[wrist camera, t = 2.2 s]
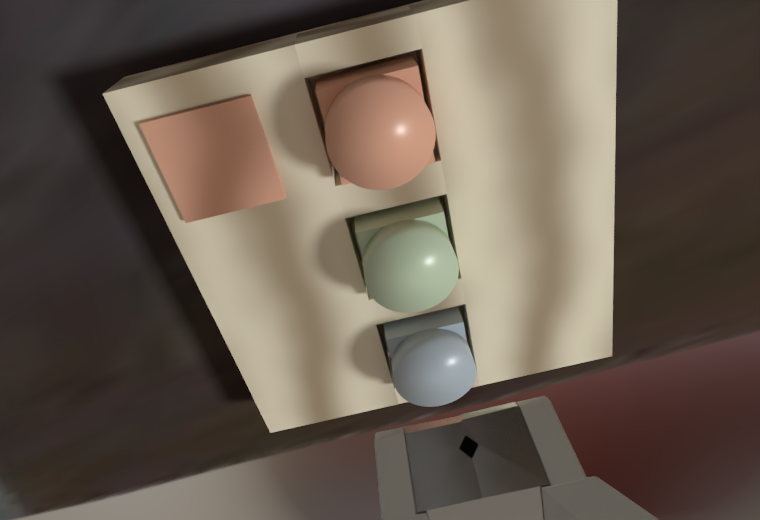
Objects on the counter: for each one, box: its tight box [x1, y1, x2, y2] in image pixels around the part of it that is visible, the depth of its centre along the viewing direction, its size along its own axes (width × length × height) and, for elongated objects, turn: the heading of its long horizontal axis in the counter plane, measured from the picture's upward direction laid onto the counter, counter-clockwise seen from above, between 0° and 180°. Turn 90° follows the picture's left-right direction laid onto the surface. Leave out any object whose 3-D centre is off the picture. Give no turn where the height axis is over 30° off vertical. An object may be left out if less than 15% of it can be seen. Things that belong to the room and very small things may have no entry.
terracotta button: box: [315, 56, 436, 190], centre depth 24 cm, size 5×5×3 cm
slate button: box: [383, 306, 477, 407], centre depth 31 cm, size 5×5×3 cm
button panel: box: [103, 0, 617, 433], centre depth 29 cm, size 22×22×3 cm
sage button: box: [354, 196, 459, 313], centre depth 28 cm, size 5×5×3 cm
